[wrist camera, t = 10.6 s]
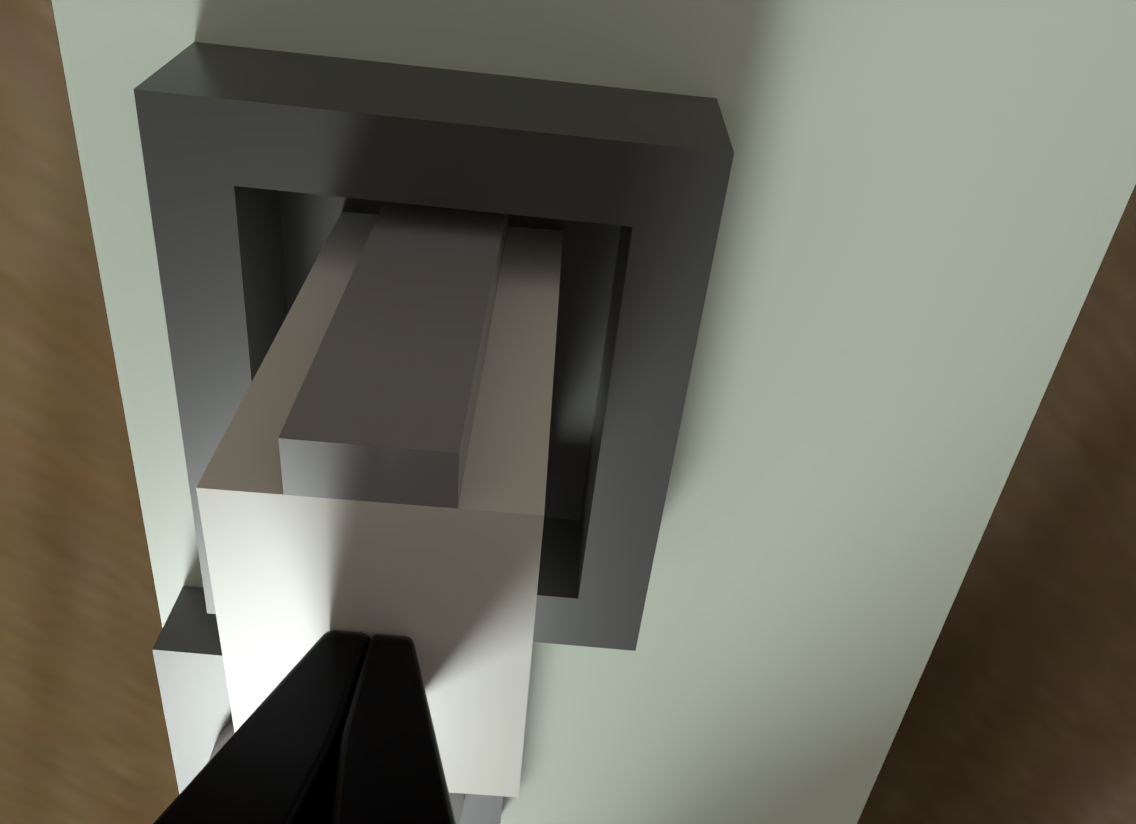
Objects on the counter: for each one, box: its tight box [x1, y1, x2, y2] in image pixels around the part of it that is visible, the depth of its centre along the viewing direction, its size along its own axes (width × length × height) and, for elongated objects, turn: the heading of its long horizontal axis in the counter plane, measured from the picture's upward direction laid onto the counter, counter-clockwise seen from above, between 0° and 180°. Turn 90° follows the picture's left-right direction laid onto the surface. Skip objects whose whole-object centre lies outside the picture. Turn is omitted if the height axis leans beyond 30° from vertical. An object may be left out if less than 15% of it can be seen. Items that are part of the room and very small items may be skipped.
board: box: [52, 0, 1136, 824], centre depth 16 cm, size 18×14×3 cm
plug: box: [196, 202, 563, 797], centre depth 12 cm, size 5×3×6 cm, turn 176°
